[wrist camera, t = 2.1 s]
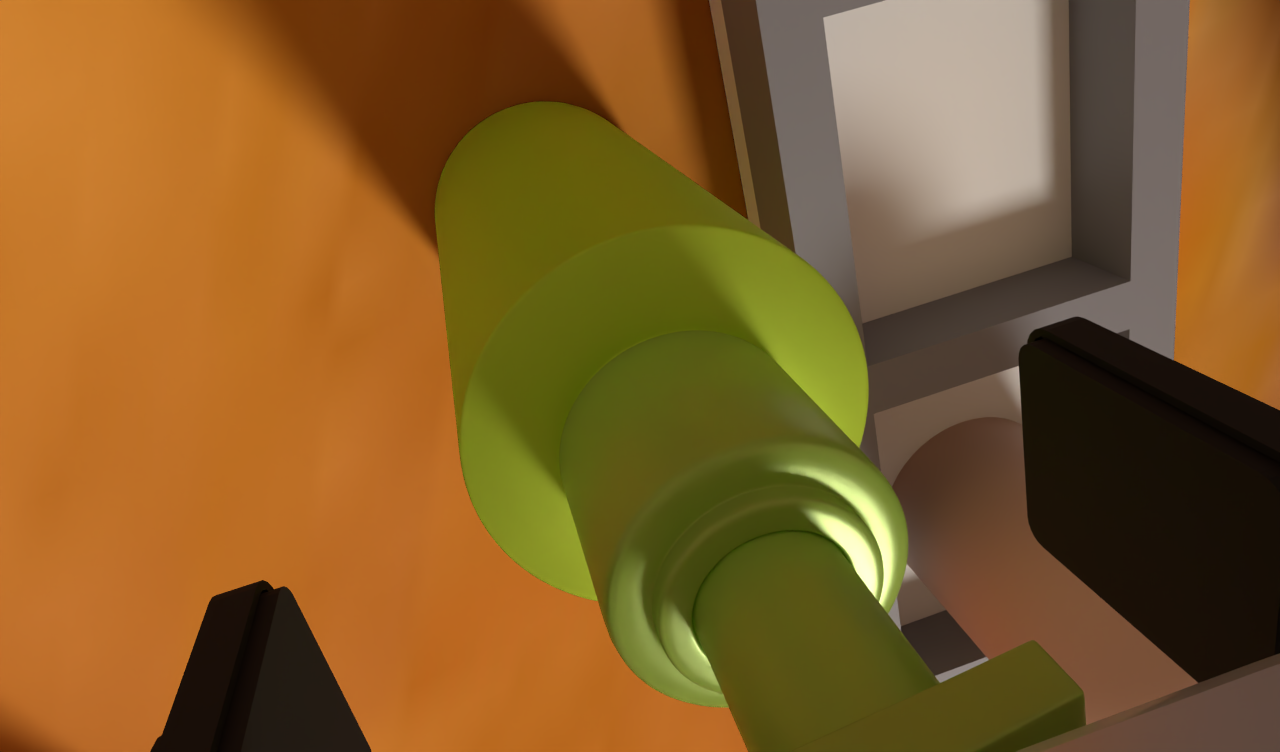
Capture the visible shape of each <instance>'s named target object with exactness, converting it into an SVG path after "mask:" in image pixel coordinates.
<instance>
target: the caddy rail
mask: <svg viewBox="0 0 1280 752" xmlns="http://www.w3.org/2000/svg"><path fill="white" fill-rule="evenodd" d="M709 3H710V9H711V15H712V20H713V26H714V31H715V37H716V42H717V48H718V54H719V59H720V65H721V70H722V76H723V81H724V87H725V93H726V98H727V104H728V109H729V115H730V120H731V126H732V132H733V137H734V143H735V148H736V154H737V159H738V165H739V171H740V176H741V182H742V187H743V193H744V198H745V204H746V210H747V215H748V220H749V221H750V222H752V223H753V224H754V225H756V226H757V227H759V228H760V229H762V230H763V231H764V232H766V233H767V234H769V235H770V236H771V237H773V238H774V239H776V240H777V241H779V242H780V243H781V244H783V245H784V246H786V247H787V248H788V249H790V250H791V251H793V252H794V253H796V254H797V255H798V256H800V257H801V258H802V259H804V260H805V261H806V262H808V263H809V264H810V265H811V266H812V267H814V268H815V269H816V270H817V271H818V272H819V273H820V274H821V275H822V276H823V277H824V278H825V279H826V280H827V281H828V283H829V284H830V285H831V286H832V287H833V288H834V290H835V291H836V292H837V294H838V295H839V296H840V298H841V299H842V301H843V302H844V304H845V306H846V307H847V309H848V311H849V313H850V315H851V317H852V319H853V321H854V323H855V325H856V328H857V330H858V333H859V336H860V339H861V342H862V345H863V349H864V353H865V358H866V364H867V371H868V385H869V397H868V410H867V418H866V424H865V428H864V433H863V437H862V441H861V444H860V447H859V449H860V450H861V451H862V452H863V453H864V454H865V455H866V456H867V457H868V458H869V459H870V460H871V461H872V462H873V463H874V464H875V466H876V467H877V468H878V469H879V470H880V471H881V472H882V474H883V475H884V476H885V477H886V479H887V480H888V482H889V483H890V485H891V486H892V488H893V490H894V492H895V494H896V495H897V497H898V499H899V502H900V504H901V506H902V509H903V512H904V515H905V519H906V524H907V530H908V558H907V565H906V570H905V574H904V578H903V581H902V584H901V587H900V590H899V593H898V595H897V597H896V600H895V602H894V604H893V606H892V608H891V610H890V612H889V613H888V615H889V616H890V617H891V619H892V620H893V621H894V623H895V624H896V625H897V627H898V628H899V629H900V631H901V632H902V633H903V635H904V636H905V637H906V639H907V640H908V641H909V643H910V644H911V645H912V647H913V648H914V649H915V650H916V652H917V653H918V654H919V656H920V657H921V658H922V660H923V661H924V662H925V664H926V665H927V666H928V668H929V669H930V670H931V672H932V673H933V674H934V676H935V677H936V678H937V680H938V681H939V682H940V683H941V682H943V681H945V680H948V679H950V678H952V677H954V676H956V675H958V674H960V673H963V672H965V671H967V670H969V669H971V668H973V667H975V666H977V665H980V664H982V663H984V662H986V661H988V660H990V659H992V658H994V657H996V656H999V655H1001V654H1003V653H1005V652H1007V651H1009V650H1011V649H1013V648H1015V647H1018V646H1020V645H1022V644H1024V643H1026V642H1028V641H1031V640H1034V641H1036V642H1037V643H1038V644H1039V645H1040V646H1041V647H1042V648H1043V649H1044V650H1045V651H1046V652H1047V653H1048V654H1049V655H1050V656H1051V657H1052V658H1053V659H1054V660H1055V661H1056V662H1057V664H1058V665H1059V666H1060V667H1061V668H1062V669H1063V670H1064V671H1065V672H1066V673H1067V674H1068V675H1069V676H1070V677H1071V678H1072V679H1073V680H1074V681H1075V682H1076V684H1077V685H1078V686H1079V687H1080V688H1081V689H1082V690H1083V692H1084V697H1085V712H1086V725H1088V724H1090V723H1093V722H1096V721H1098V720H1101V719H1104V718H1106V717H1109V716H1112V715H1115V714H1117V713H1120V712H1123V711H1125V710H1128V709H1131V708H1133V707H1136V706H1139V705H1141V704H1144V703H1147V702H1149V701H1152V700H1155V699H1157V698H1160V697H1163V696H1165V695H1168V694H1171V693H1173V692H1176V691H1179V690H1182V689H1184V688H1187V687H1190V686H1192V685H1195V684H1198V682H1197V681H1195V680H1194V679H1193V678H1192V677H1191V676H1190V675H1189V674H1187V673H1186V672H1185V671H1184V670H1183V669H1182V668H1181V667H1179V666H1178V665H1177V664H1176V663H1175V662H1174V661H1173V660H1171V659H1170V658H1169V657H1168V656H1167V655H1166V654H1165V653H1163V652H1162V651H1161V650H1160V649H1159V648H1158V647H1157V646H1155V645H1154V644H1153V643H1152V642H1151V641H1150V640H1148V639H1147V638H1146V637H1145V636H1144V635H1143V634H1142V633H1140V632H1139V631H1138V630H1137V629H1136V628H1135V627H1134V626H1132V625H1131V624H1130V623H1129V622H1128V621H1127V620H1126V619H1124V618H1123V617H1122V616H1121V615H1120V614H1119V613H1118V612H1116V611H1115V610H1114V609H1113V608H1112V607H1111V606H1110V605H1108V604H1107V603H1106V602H1105V601H1104V600H1103V599H1102V598H1100V597H1099V596H1098V595H1097V594H1096V593H1095V592H1094V591H1092V590H1091V589H1090V588H1089V587H1088V586H1087V585H1086V584H1084V583H1083V582H1082V581H1081V580H1080V579H1079V578H1077V577H1076V576H1075V575H1074V574H1073V573H1072V572H1071V571H1069V570H1068V569H1067V568H1066V567H1065V566H1064V565H1063V564H1061V563H1060V562H1059V561H1058V560H1057V559H1056V558H1055V557H1053V556H1052V555H1051V554H1050V553H1049V552H1048V551H1047V550H1045V549H1044V548H1043V547H1042V546H1041V545H1040V544H1039V543H1038V541H1037V540H1036V538H1035V537H1034V535H1033V533H1032V531H1031V529H1030V526H1029V523H1028V517H1027V500H1026V483H1025V465H1024V448H1023V431H1022V413H1021V396H1020V379H1019V361H1018V357H1019V351H1020V348H1021V347H1022V346H1023V345H1025V344H1027V340H1028V338H1029V335H1030V333H1031V332H1032V331H1033V330H1035V329H1038V328H1041V327H1044V326H1047V325H1050V324H1053V323H1057V322H1060V321H1063V320H1066V319H1069V318H1072V317H1077V316H1078V317H1082V318H1085V319H1087V320H1089V321H1092V322H1094V323H1096V324H1098V325H1100V326H1102V327H1104V328H1106V329H1108V330H1111V331H1113V332H1115V333H1117V334H1119V335H1121V336H1123V337H1125V338H1127V339H1130V340H1132V341H1134V342H1136V343H1138V344H1140V345H1142V346H1144V347H1146V348H1149V349H1151V350H1153V351H1155V352H1157V353H1159V354H1161V355H1163V356H1166V357H1168V358H1170V359H1172V360H1174V340H1175V318H1176V295H1177V273H1178V250H1179V228H1180V205H1181V183H1182V160H1183V138H1184V115H1185V93H1186V70H1187V48H1188V25H1189V3H1190V0H709Z"/></svg>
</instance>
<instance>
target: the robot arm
mask: <svg viewBox="0 0 1280 752" xmlns="http://www.w3.org/2000/svg"><path fill="white" fill-rule="evenodd" d="M1018 361H1019V379H1020V396H1021V413H1022V431H1023V448H1024V465H1025V483H1026V500H1027V517H1028V523H1029V526H1030V529H1031V531H1032V533H1033V535H1034V537H1035V538H1036V540H1037V541H1038V543H1039V544H1040V545H1041V546H1042V547H1043V548H1044V549H1045V550H1047V551H1048V552H1049V553H1050V554H1051V555H1052V556H1053V557H1055V558H1056V559H1057V560H1058V561H1059V562H1060V563H1061V564H1063V565H1064V566H1065V567H1066V568H1067V569H1068V570H1069V571H1071V572H1072V573H1073V574H1074V575H1075V576H1076V577H1077V578H1079V579H1080V580H1081V581H1082V582H1083V583H1084V584H1086V585H1087V586H1088V587H1089V588H1090V589H1091V590H1092V591H1094V592H1095V593H1096V594H1097V595H1098V596H1099V597H1100V598H1102V599H1103V600H1104V601H1105V602H1106V603H1107V604H1108V605H1110V606H1111V607H1112V608H1113V609H1114V610H1115V611H1116V612H1118V613H1119V614H1120V615H1121V616H1122V617H1123V618H1124V619H1126V620H1127V621H1128V622H1129V623H1130V624H1131V625H1132V626H1134V627H1135V628H1136V629H1137V630H1138V631H1139V632H1140V633H1142V634H1143V635H1144V636H1145V637H1146V638H1147V639H1148V640H1150V641H1151V642H1152V643H1153V644H1154V645H1155V646H1157V647H1158V648H1159V649H1160V650H1161V651H1162V652H1163V653H1165V654H1166V655H1167V656H1168V657H1169V658H1170V659H1171V660H1173V661H1174V662H1175V663H1176V664H1177V665H1178V666H1179V667H1181V668H1182V669H1183V670H1184V671H1185V672H1186V673H1187V674H1189V675H1190V676H1191V677H1192V678H1193V679H1194V680H1195V681H1197V682H1198V684H1195V685H1192V686H1190V687H1187V688H1184V689H1182V690H1179V691H1176V692H1173V693H1171V694H1168V695H1165V696H1163V697H1160V698H1157V699H1155V700H1152V701H1149V702H1147V703H1144V704H1141V705H1139V706H1136V707H1133V708H1131V709H1128V710H1125V711H1123V712H1120V713H1117V714H1115V715H1112V716H1109V717H1106V718H1104V719H1101V720H1098V721H1096V722H1093V723H1090V724H1088V725H1085V726H1082V727H1080V728H1077V729H1074V730H1072V731H1069V732H1066V733H1064V734H1061V735H1058V736H1056V737H1053V738H1050V739H1048V740H1045V741H1042V742H1039V743H1037V744H1034V745H1032V746H1029V747H1026V748H1024V749H1021V750H1018V751H1016V752H1280V410H1278V409H1275V408H1273V407H1271V406H1269V405H1267V404H1265V403H1263V402H1261V401H1259V400H1256V399H1254V398H1252V397H1250V396H1248V395H1246V394H1244V393H1242V392H1240V391H1237V390H1235V389H1233V388H1231V387H1229V386H1227V385H1225V384H1223V383H1220V382H1218V381H1216V380H1214V379H1212V378H1210V377H1208V376H1206V375H1204V374H1201V373H1199V372H1197V371H1195V370H1193V369H1191V368H1189V367H1187V366H1185V365H1182V364H1180V363H1178V362H1176V361H1174V360H1172V359H1170V358H1168V357H1166V356H1163V355H1161V354H1159V353H1157V352H1155V351H1153V350H1151V349H1149V348H1146V347H1144V346H1142V345H1140V344H1138V343H1136V342H1134V341H1132V340H1130V339H1127V338H1125V337H1123V336H1121V335H1119V334H1117V333H1115V332H1113V331H1111V330H1108V329H1106V328H1104V327H1102V326H1100V325H1098V324H1096V323H1094V322H1092V321H1089V320H1087V319H1085V318H1082V317H1078V316H1077V317H1072V318H1069V319H1066V320H1063V321H1060V322H1057V323H1053V324H1050V325H1047V326H1044V327H1041V328H1038V329H1035V330H1033V331H1032V332H1031V333H1030V335H1029V338H1028V340H1027V344H1025V345H1023V346H1022V347H1021V348H1020V351H1019V357H1018ZM151 752H371V749H370V747H369V745H368V743H367V741H366V739H365V737H364V735H363V733H362V731H361V729H360V727H359V725H358V723H357V721H356V719H355V717H354V715H353V713H352V711H351V709H350V707H349V705H348V703H347V701H346V699H345V697H344V695H343V693H342V691H341V689H340V687H339V685H338V683H337V681H336V679H335V677H334V675H333V673H332V671H331V669H330V667H329V665H328V663H327V661H326V659H325V657H324V655H323V653H322V651H321V649H320V647H319V646H318V644H317V642H316V640H315V638H314V636H313V634H312V632H311V630H310V628H309V626H308V624H307V622H306V620H305V618H304V616H303V614H302V612H301V610H300V608H299V606H298V604H297V602H296V600H295V598H294V596H293V594H292V593H291V591H290V590H289V589H288V588H287V587H284V586H283V587H280V588H277V589H273V587H272V586H271V585H270V584H269V583H268V582H266V581H264V580H262V581H259V582H256V583H253V584H249V585H246V586H243V587H240V588H237V589H234V590H231V591H228V592H225V593H222V594H219V595H216V596H214V597H212V599H211V600H210V602H209V604H208V607H207V610H206V613H205V616H204V618H203V621H202V624H201V627H200V630H199V632H198V635H197V638H196V641H195V644H194V647H193V649H192V652H191V655H190V658H189V661H188V663H187V666H186V669H185V672H184V675H183V678H182V680H181V683H180V686H179V689H178V692H177V694H176V697H175V700H174V703H173V706H172V709H171V711H170V714H169V717H168V720H167V723H166V725H165V728H164V731H163V734H162V735H161V736H160V737H159V738H157V740H156V742H155V744H154V746H153V747H152V749H151Z"/></svg>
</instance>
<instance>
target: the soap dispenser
mask: <svg viewBox="0 0 1280 752" xmlns="http://www.w3.org/2000/svg"><path fill="white" fill-rule="evenodd" d="M435 226H436V235H437V244H438V254H439V263H440V273H441V282H442V292H443V301H444V311H445V320H446V330H447V339H448V349H449V358H450V368H451V377H452V387H453V396H454V405H455V415H456V424H457V434H458V443H459V453H460V461H461V467H462V472H463V477H464V480H465V484H466V488H467V491H468V494H469V496H470V499H471V501H472V504H473V506H474V508H475V510H476V512H477V514H478V516H479V518H480V520H481V522H482V523H483V525H484V526H485V528H486V529H487V531H488V532H489V534H490V535H491V536H492V538H493V539H494V540H495V542H496V543H497V544H498V545H499V546H500V547H501V549H502V550H503V551H504V552H505V553H506V554H507V555H508V556H509V557H510V558H512V559H513V560H514V561H515V562H516V563H517V564H518V565H520V566H521V567H522V568H523V569H525V570H526V571H528V572H529V573H530V574H532V575H534V576H535V577H537V578H538V579H540V580H542V581H543V582H545V583H547V584H549V585H551V586H553V587H555V588H557V589H560V590H562V591H565V592H567V593H570V594H573V595H576V596H579V597H582V598H586V599H590V600H594V601H598V602H599V606H600V609H601V612H602V616H603V619H604V622H605V624H606V627H607V630H608V633H609V635H610V638H611V640H612V642H613V644H614V646H615V648H616V649H617V651H618V653H619V654H620V656H621V657H622V659H623V660H624V662H625V663H626V664H627V666H628V667H629V668H630V669H631V670H632V671H633V672H634V673H635V674H636V675H637V676H638V677H639V678H640V679H641V680H642V681H644V682H645V683H646V684H648V685H649V686H650V687H652V688H654V689H655V690H657V691H659V692H661V693H663V694H665V695H667V696H669V697H672V698H674V699H677V700H680V701H683V702H687V703H691V704H696V705H702V706H709V707H729V709H730V711H731V713H732V716H733V718H734V720H735V722H736V725H737V727H738V729H739V731H740V734H741V736H742V738H743V741H744V743H745V745H746V747H747V750H748V752H1016V751H1018V750H1021V749H1024V748H1026V747H1029V746H1032V745H1034V744H1037V743H1039V742H1042V741H1045V740H1048V739H1050V738H1053V737H1056V736H1058V735H1061V734H1064V733H1066V732H1069V731H1072V730H1074V729H1077V728H1080V727H1082V726H1085V725H1086V712H1085V697H1084V692H1083V690H1082V689H1081V688H1080V687H1079V686H1078V685H1077V684H1076V682H1075V681H1074V680H1073V679H1072V678H1071V677H1070V676H1069V675H1068V674H1067V673H1066V672H1065V671H1064V670H1063V669H1062V668H1061V667H1060V666H1059V665H1058V664H1057V662H1056V661H1055V660H1054V659H1053V658H1052V657H1051V656H1050V655H1049V654H1048V653H1047V652H1046V651H1045V650H1044V649H1043V648H1042V647H1041V646H1040V645H1039V644H1038V643H1037V642H1036V641H1034V640H1031V641H1028V642H1026V643H1024V644H1022V645H1020V646H1018V647H1015V648H1013V649H1011V650H1009V651H1007V652H1005V653H1003V654H1001V655H999V656H996V657H994V658H992V659H990V660H988V661H986V662H984V663H982V664H980V665H977V666H975V667H973V668H971V669H969V670H967V671H965V672H963V673H960V674H958V675H956V676H954V677H952V678H950V679H948V680H945V681H943V682H941V683H940V682H939V681H938V680H937V678H936V677H935V676H934V674H933V673H932V672H931V670H930V669H929V668H928V666H927V665H926V664H925V662H924V661H923V660H922V658H921V657H920V656H919V654H918V653H917V652H916V650H915V649H914V648H913V647H912V645H911V644H910V643H909V641H908V640H907V639H906V637H905V636H904V635H903V633H902V632H901V631H900V629H899V628H898V627H897V625H896V624H895V623H894V621H893V620H892V619H891V617H890V616H889V615H888V613H889V612H890V610H891V608H892V606H893V604H894V602H895V600H896V597H897V595H898V593H899V590H900V587H901V584H902V581H903V578H904V574H905V570H906V565H907V558H908V530H907V524H906V519H905V515H904V512H903V509H902V506H901V504H900V502H899V499H898V497H897V495H896V494H895V492H894V490H893V488H892V486H891V485H890V483H889V482H888V480H887V479H886V477H885V476H884V475H883V474H882V472H881V471H880V470H879V469H878V468H877V467H876V466H875V464H874V463H873V462H872V461H871V460H870V459H869V458H868V457H867V456H866V455H865V454H864V453H863V452H862V451H861V450H860V449H859V447H860V444H861V441H862V437H863V433H864V428H865V424H866V418H867V410H868V397H869V385H868V371H867V364H866V358H865V353H864V349H863V345H862V342H861V339H860V336H859V333H858V330H857V328H856V325H855V323H854V321H853V319H852V317H851V315H850V313H849V311H848V309H847V307H846V306H845V304H844V302H843V301H842V299H841V298H840V296H839V295H838V294H837V292H836V291H835V290H834V288H833V287H832V286H831V285H830V284H829V283H828V281H827V280H826V279H825V278H824V277H823V276H822V275H821V274H820V273H819V272H818V271H817V270H816V269H815V268H814V267H812V266H811V265H810V264H809V263H808V262H806V261H805V260H804V259H802V258H801V257H800V256H798V255H797V254H796V253H794V252H793V251H791V250H790V249H788V248H787V247H786V246H784V245H783V244H781V243H780V242H779V241H777V240H776V239H774V238H773V237H771V236H770V235H769V234H767V233H766V232H764V231H763V230H762V229H760V228H759V227H757V226H756V225H754V224H753V223H752V222H750V221H749V220H747V219H746V218H745V217H743V216H742V215H740V214H739V213H737V212H736V211H735V210H733V209H732V208H730V207H729V206H728V205H726V204H725V203H723V202H722V201H720V200H719V199H718V198H716V197H715V196H713V195H712V194H711V193H709V192H708V191H706V190H705V189H703V188H702V187H701V186H699V185H698V184H696V183H695V182H694V181H692V180H691V179H689V178H688V177H686V176H685V175H684V174H682V173H681V172H679V171H678V170H677V169H675V168H674V167H672V166H671V165H669V164H668V163H667V162H665V161H664V160H662V159H661V158H659V157H658V156H657V155H655V154H654V153H652V152H651V151H650V150H648V149H647V148H645V147H644V146H642V145H641V144H640V143H638V142H637V141H635V140H634V139H633V138H631V137H630V136H628V135H627V134H625V133H624V132H623V131H621V130H620V129H618V128H617V127H616V126H614V125H613V124H611V123H610V122H608V121H607V120H605V119H604V118H602V117H601V116H599V115H597V114H595V113H593V112H591V111H589V110H587V109H584V108H581V107H578V106H575V105H571V104H567V103H561V102H551V101H540V102H530V103H524V104H519V105H515V106H512V107H509V108H506V109H504V110H501V111H499V112H497V113H495V114H493V115H491V116H489V117H488V118H486V119H485V120H483V121H482V122H480V123H479V124H478V125H476V126H475V127H474V128H473V129H471V130H470V131H469V132H468V133H467V134H466V135H465V136H464V137H463V139H462V140H461V141H460V142H459V143H458V145H457V146H456V147H455V149H454V150H453V152H452V153H451V155H450V156H449V158H448V160H447V162H446V164H445V166H444V168H443V171H442V173H441V176H440V179H439V183H438V187H437V191H436V198H435Z"/></svg>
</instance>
